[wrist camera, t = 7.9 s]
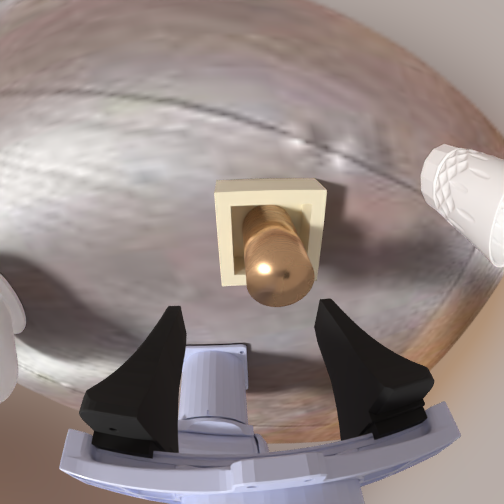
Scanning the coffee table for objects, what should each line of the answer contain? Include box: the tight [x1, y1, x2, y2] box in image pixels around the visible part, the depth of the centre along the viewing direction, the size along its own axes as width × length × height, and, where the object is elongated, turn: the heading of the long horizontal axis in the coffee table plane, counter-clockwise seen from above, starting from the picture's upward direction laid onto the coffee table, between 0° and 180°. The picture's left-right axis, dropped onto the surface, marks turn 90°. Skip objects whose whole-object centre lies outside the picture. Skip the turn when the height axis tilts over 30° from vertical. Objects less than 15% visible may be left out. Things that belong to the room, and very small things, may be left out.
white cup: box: [421, 144, 504, 268], centre depth 16 cm, size 8×8×10 cm
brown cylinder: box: [242, 205, 315, 307], centre depth 19 cm, size 4×4×7 cm
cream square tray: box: [214, 178, 327, 286], centre depth 21 cm, size 8×8×3 cm
